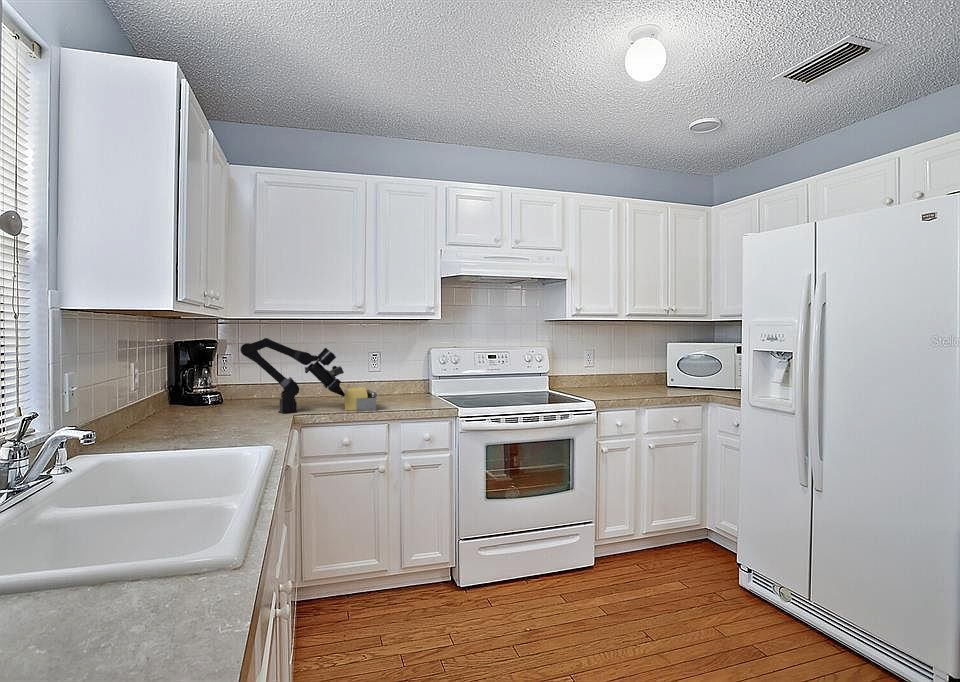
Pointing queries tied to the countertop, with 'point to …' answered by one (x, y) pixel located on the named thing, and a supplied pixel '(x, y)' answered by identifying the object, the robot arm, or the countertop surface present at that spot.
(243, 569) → the countertop surface
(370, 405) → the leaf bracket
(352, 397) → the cheese
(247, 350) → the robot arm
